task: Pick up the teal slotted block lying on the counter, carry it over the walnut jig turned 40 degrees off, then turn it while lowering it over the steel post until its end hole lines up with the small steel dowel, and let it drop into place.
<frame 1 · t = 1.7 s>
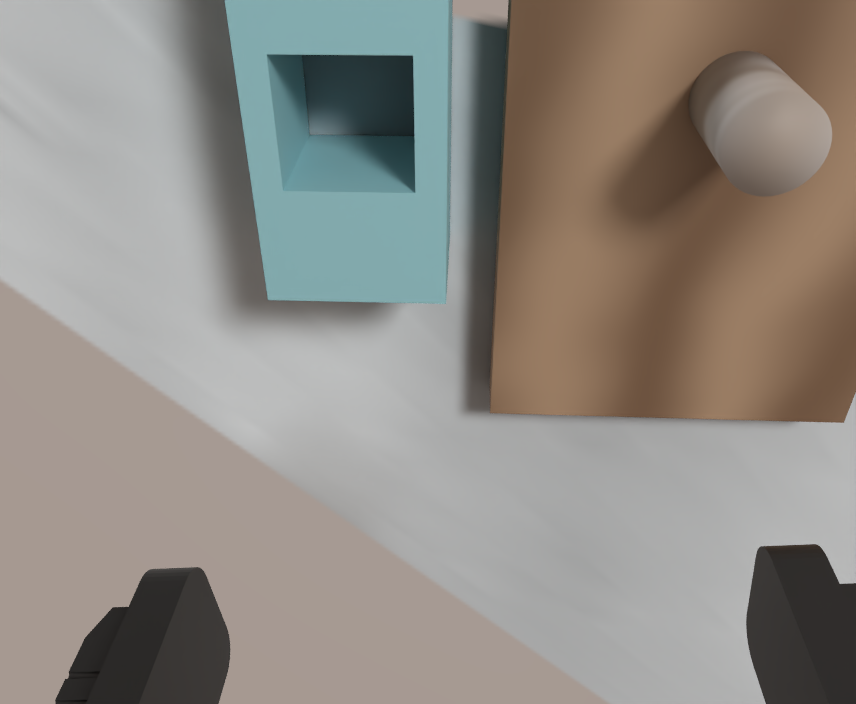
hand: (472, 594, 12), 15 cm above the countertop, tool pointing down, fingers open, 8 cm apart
jig: (721, 80, 22), on the countertop
teal slotted block: (363, 77, 23), on the countertop
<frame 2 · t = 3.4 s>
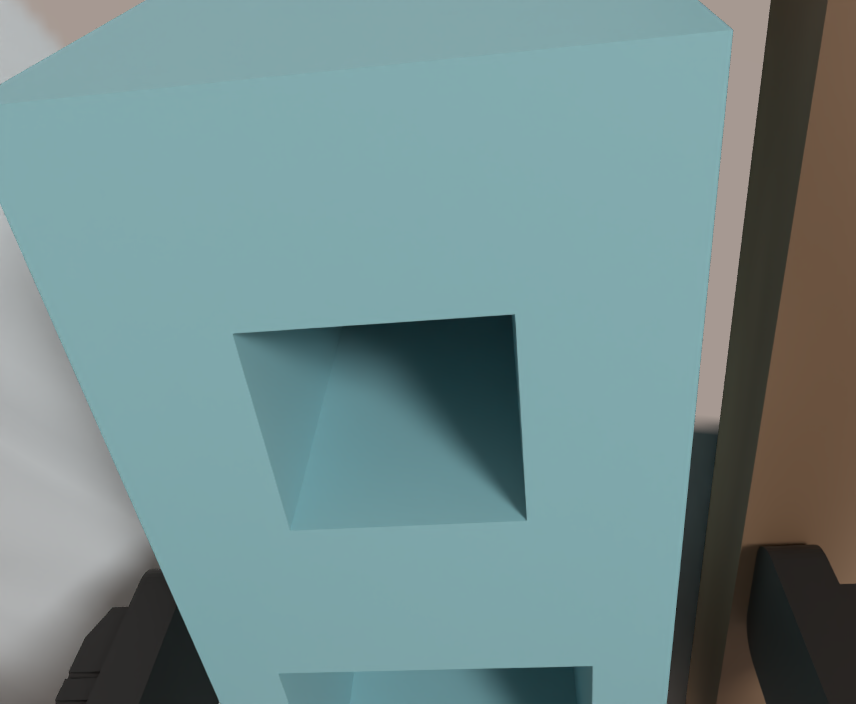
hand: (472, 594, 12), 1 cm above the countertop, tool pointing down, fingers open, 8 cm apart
teal slotted block: (454, 511, 13), on the countertop
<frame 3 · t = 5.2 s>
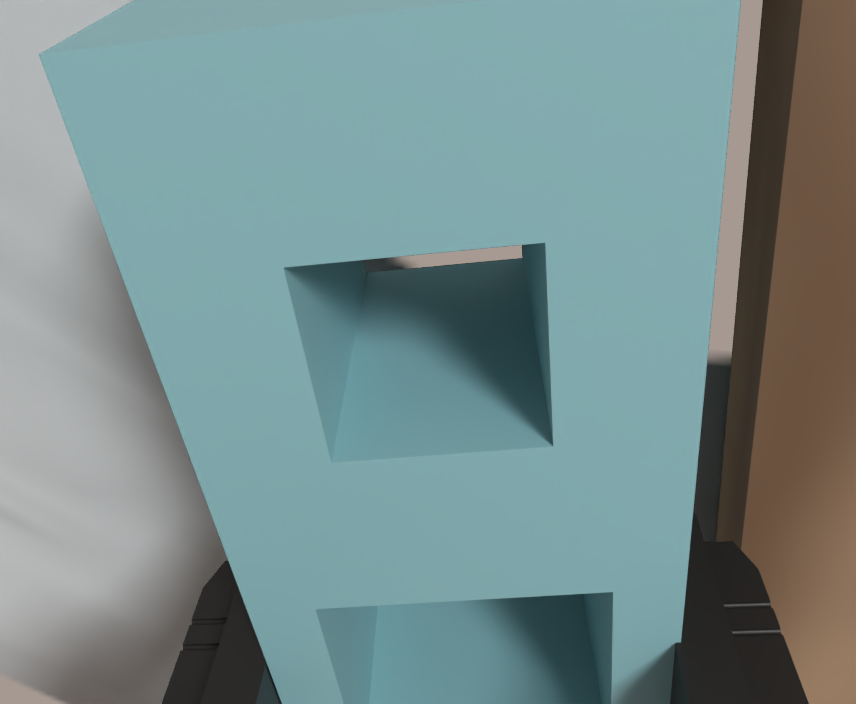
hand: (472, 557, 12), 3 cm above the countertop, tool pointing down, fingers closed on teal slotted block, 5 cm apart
teal slotted block: (468, 472, 13), point 2 cm above the countertop, touching gripper
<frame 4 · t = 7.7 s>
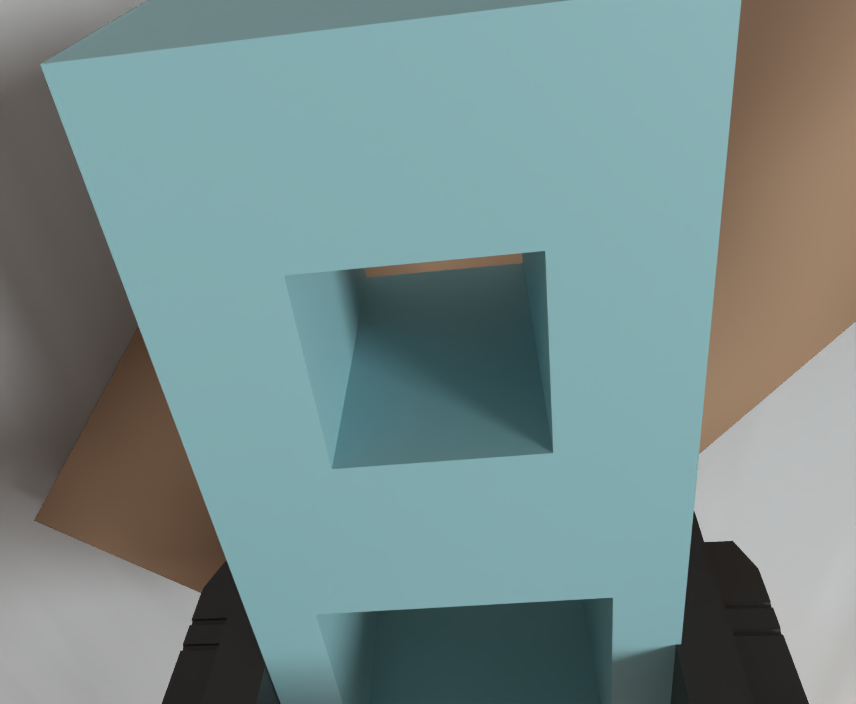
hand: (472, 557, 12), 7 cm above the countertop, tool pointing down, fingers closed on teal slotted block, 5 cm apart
jig: (470, 307, 18), on the countertop
teal slotted block: (468, 475, 13), point 6 cm above the countertop, touching gripper
when the fingers open (3 cm above the countertop, at t = 10.0 s): teal slotted block stays where it is, resting on jig.
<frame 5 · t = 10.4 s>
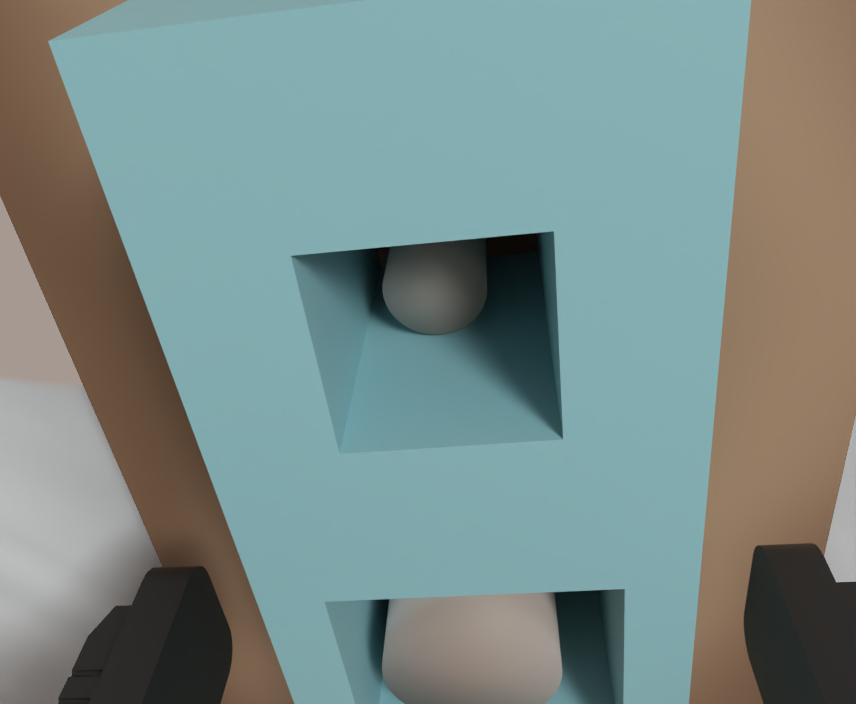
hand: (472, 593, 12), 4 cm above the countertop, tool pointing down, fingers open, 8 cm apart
jig: (473, 432, 15), on the countertop
teal slotted block: (482, 468, 13), point 1 cm above the countertop, touching jig
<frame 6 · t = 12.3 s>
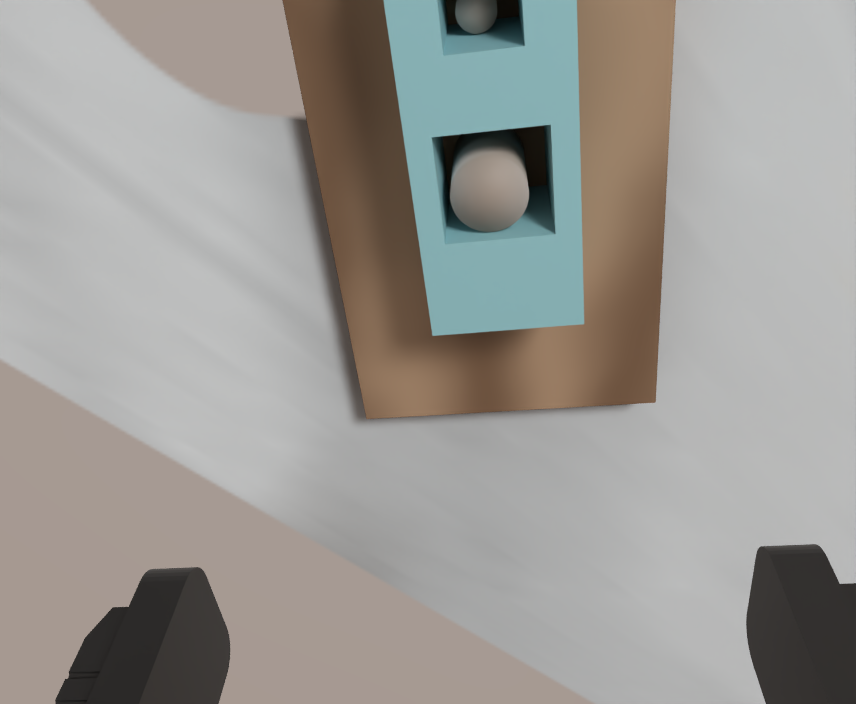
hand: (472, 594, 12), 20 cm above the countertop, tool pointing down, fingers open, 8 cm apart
jig: (488, 141, 28), on the countertop
teal slotted block: (493, 142, 27), point 1 cm above the countertop, touching jig
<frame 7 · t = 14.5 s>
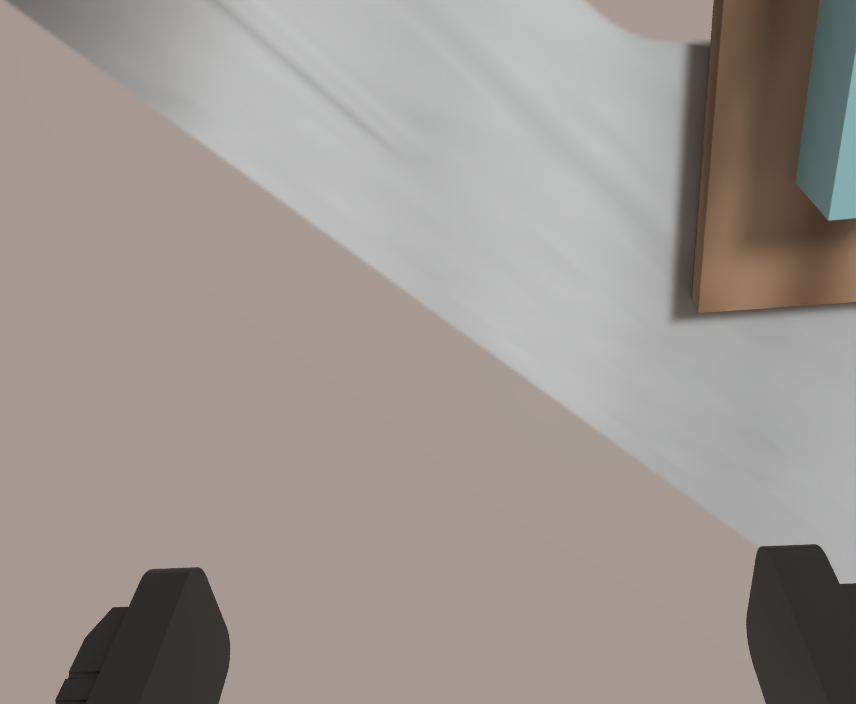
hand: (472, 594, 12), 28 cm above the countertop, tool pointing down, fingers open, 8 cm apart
jig: (853, 63, 34), on the countertop
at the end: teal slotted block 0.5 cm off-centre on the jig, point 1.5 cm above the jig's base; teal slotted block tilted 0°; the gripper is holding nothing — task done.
